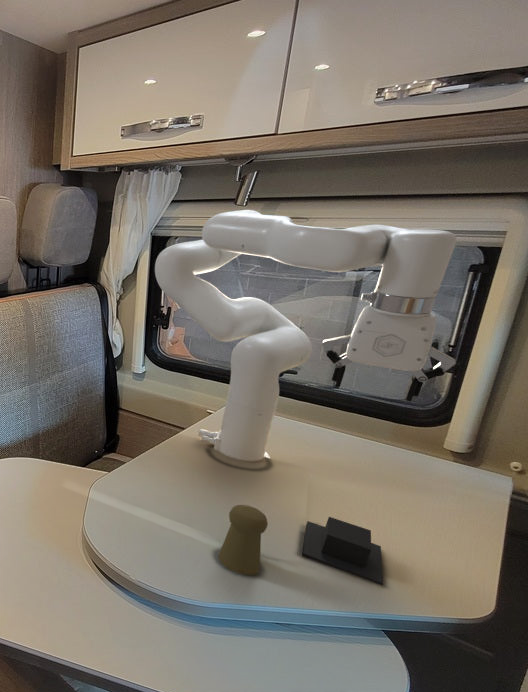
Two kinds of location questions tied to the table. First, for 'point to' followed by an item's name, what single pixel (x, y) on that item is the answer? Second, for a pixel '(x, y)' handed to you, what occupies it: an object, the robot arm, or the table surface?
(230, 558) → the cork
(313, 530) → the base pad
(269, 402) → the robot arm
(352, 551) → the pad
